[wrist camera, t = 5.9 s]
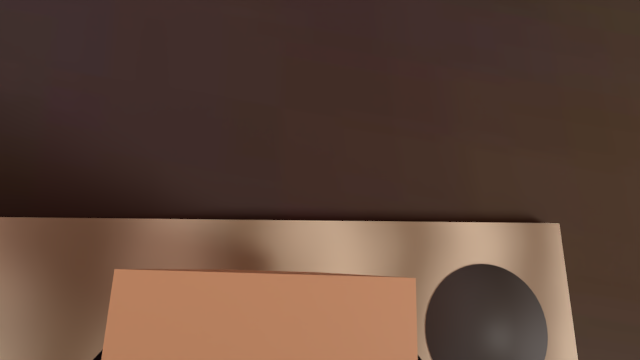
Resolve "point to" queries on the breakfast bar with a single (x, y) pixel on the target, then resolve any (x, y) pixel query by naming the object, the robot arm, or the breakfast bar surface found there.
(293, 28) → the breakfast bar surface
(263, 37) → the breakfast bar surface
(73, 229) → the template board
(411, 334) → the marker post
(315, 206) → the breakfast bar surface
